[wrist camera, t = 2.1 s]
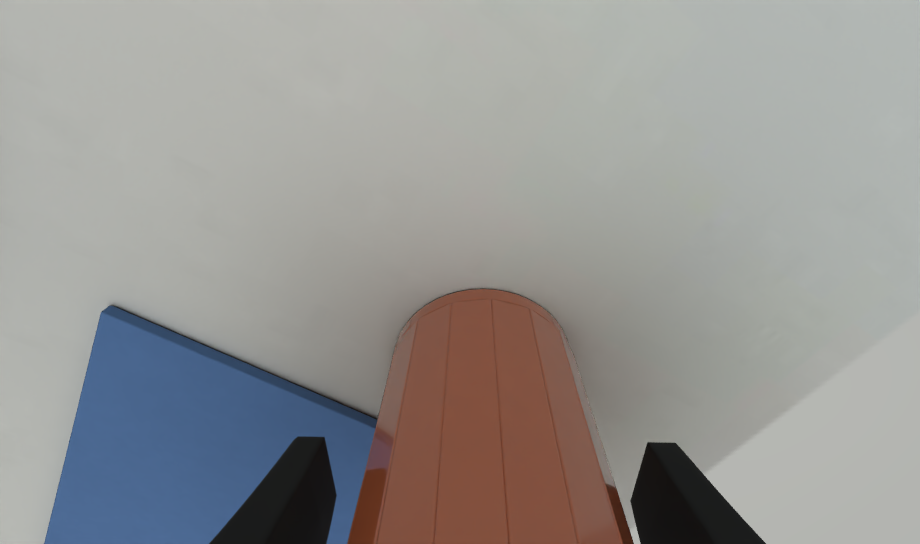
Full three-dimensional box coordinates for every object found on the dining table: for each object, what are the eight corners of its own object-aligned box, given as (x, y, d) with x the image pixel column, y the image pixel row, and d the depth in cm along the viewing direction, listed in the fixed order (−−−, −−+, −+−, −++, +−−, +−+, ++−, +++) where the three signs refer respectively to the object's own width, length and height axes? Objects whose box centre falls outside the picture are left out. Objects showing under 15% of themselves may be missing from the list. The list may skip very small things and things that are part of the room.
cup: (596, 389, 14) (728, 761, 7) (450, 445, 15) (432, 804, 8) (521, 256, 12) (598, 597, 5) (359, 335, 13) (226, 692, 6)
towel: (110, 304, 13) (100, 312, 12) (491, 468, 16) (491, 478, 15) (38, 587, 20) (30, 596, 20) (304, 661, 23) (301, 671, 23)
